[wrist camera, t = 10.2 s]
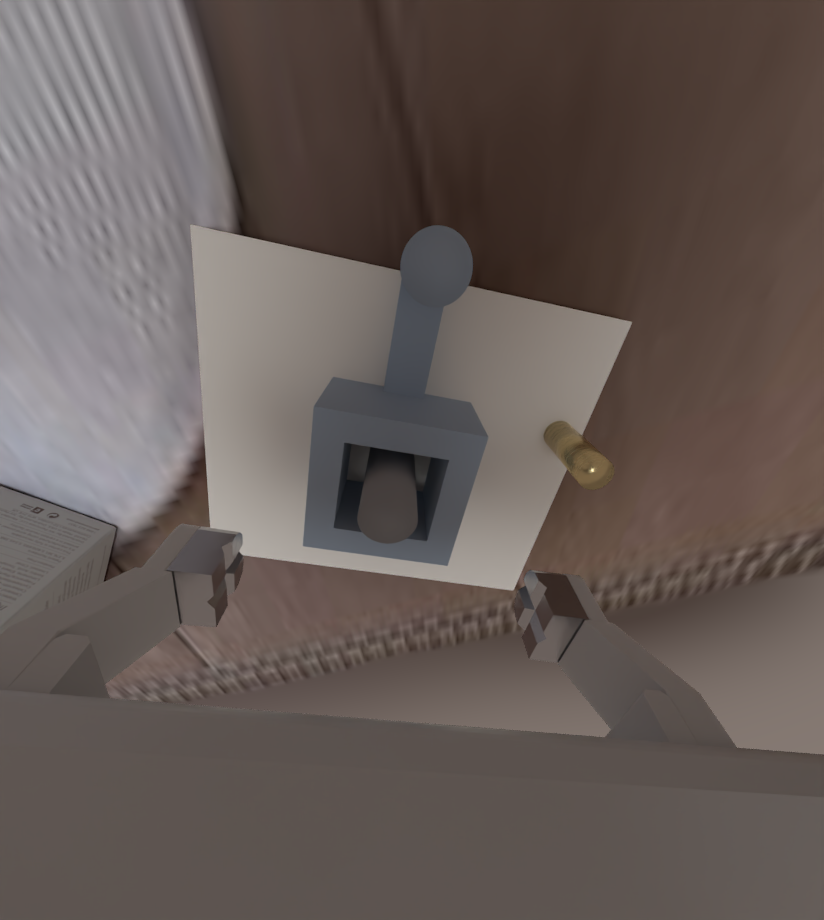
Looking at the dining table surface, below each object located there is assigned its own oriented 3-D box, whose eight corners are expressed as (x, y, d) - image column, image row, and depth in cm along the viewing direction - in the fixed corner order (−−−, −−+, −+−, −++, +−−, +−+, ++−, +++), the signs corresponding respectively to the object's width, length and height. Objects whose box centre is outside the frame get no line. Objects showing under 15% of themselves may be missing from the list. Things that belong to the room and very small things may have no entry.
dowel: (549, 418, 18) (586, 456, 14) (576, 423, 18) (620, 462, 14) (539, 444, 18) (572, 486, 15) (565, 449, 18) (604, 492, 15)
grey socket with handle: (348, 220, 14) (322, 196, 9) (511, 258, 14) (559, 253, 10) (321, 495, 19) (296, 562, 15) (439, 513, 20) (450, 582, 16)
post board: (205, 227, 15) (71, 198, 9) (617, 318, 17) (736, 345, 11) (221, 537, 22) (153, 636, 16) (508, 576, 24) (543, 678, 18)
